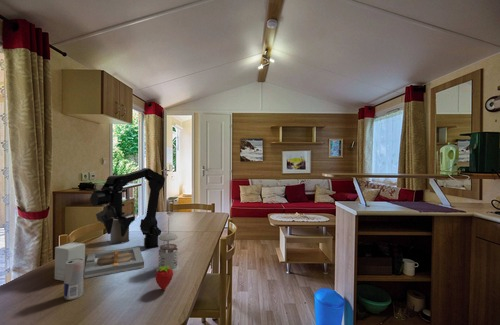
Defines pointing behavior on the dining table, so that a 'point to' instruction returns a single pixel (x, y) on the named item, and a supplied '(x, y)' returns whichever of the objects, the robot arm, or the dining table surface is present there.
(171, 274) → the strawberry
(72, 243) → the supplement box
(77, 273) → the energy drink
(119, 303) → the dining table surface
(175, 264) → the french press
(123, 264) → the dial plate
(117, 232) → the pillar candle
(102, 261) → the dial
